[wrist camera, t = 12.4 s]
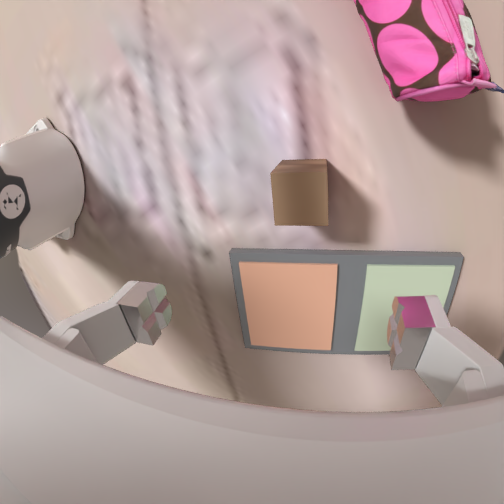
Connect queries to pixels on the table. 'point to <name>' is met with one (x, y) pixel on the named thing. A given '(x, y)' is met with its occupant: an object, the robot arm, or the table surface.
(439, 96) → the pencil case
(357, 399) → the table surface
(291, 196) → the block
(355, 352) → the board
